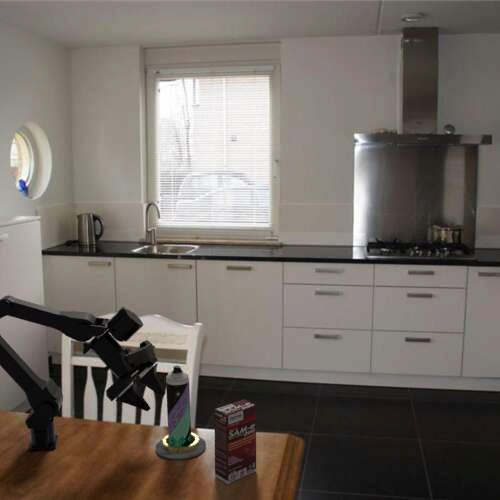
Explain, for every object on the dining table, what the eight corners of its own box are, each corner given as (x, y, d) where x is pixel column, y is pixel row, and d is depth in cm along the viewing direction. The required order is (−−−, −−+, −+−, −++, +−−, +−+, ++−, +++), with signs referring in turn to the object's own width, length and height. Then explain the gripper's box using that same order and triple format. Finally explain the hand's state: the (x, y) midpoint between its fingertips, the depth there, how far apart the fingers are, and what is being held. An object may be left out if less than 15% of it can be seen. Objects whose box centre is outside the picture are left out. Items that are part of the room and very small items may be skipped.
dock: (154, 438, 157) (154, 431, 157) (202, 434, 159) (202, 426, 159) (157, 462, 146) (156, 454, 145) (208, 457, 148) (208, 448, 147)
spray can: (164, 445, 152) (160, 367, 149) (181, 437, 156) (178, 360, 153) (178, 453, 149) (175, 372, 145) (196, 444, 153) (193, 366, 149)
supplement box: (228, 485, 135) (226, 415, 133) (214, 476, 139) (212, 408, 136) (258, 471, 141) (257, 404, 138) (243, 463, 145) (242, 398, 142)
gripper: (116, 345, 142) (163, 397, 141) (149, 323, 159) (191, 368, 159) (86, 376, 145) (132, 426, 144) (122, 350, 163) (163, 395, 162)
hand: (156, 402), depth 152 cm, fingers open, 9 cm apart
